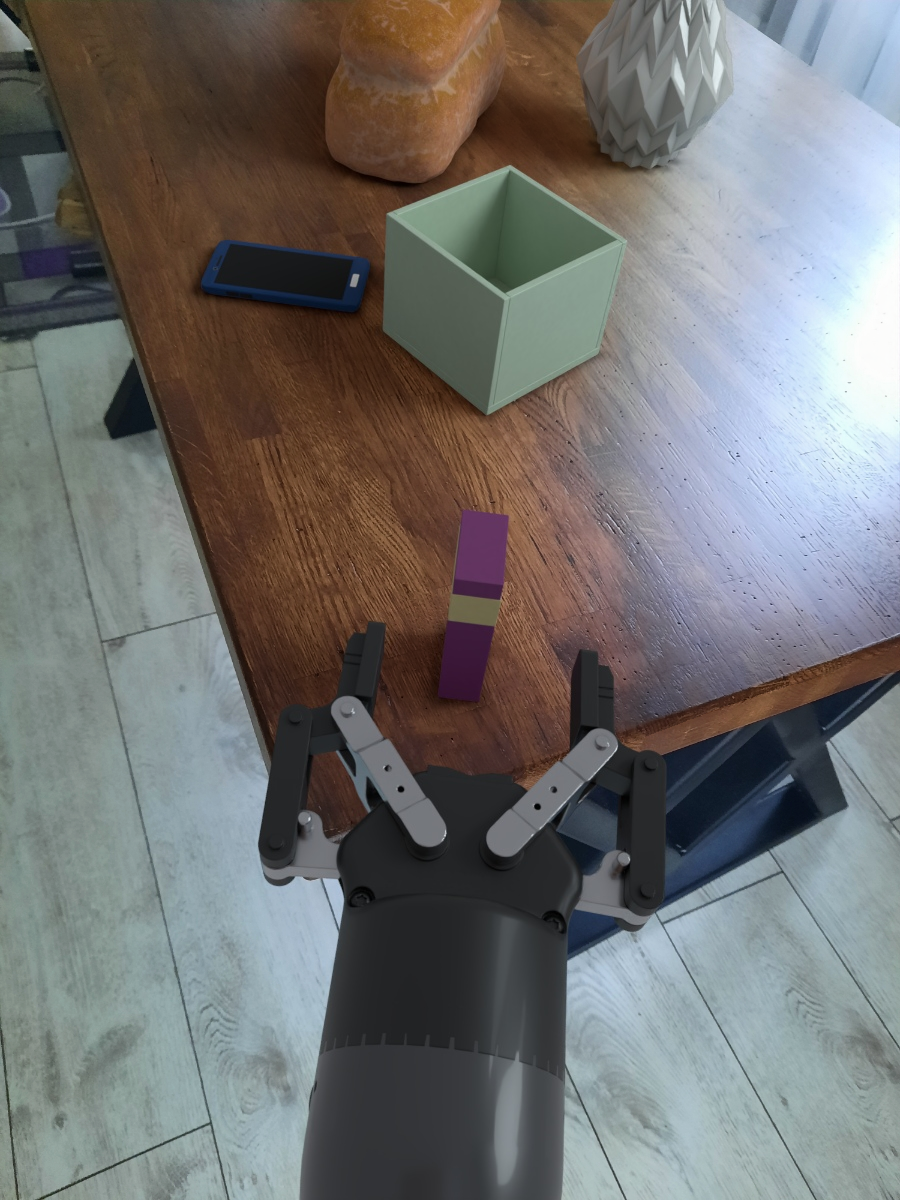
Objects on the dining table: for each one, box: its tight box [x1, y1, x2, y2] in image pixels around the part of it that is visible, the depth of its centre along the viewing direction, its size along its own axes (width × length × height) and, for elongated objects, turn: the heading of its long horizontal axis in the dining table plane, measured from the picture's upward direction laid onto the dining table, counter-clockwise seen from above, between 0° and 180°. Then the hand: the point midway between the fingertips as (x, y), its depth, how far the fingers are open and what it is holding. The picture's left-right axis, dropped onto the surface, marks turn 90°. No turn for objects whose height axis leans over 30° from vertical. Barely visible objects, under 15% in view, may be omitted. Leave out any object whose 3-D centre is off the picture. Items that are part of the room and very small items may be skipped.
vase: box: [575, 0, 735, 170], centre depth 94 cm, size 16×16×18 cm
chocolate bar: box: [437, 509, 510, 703], centre depth 55 cm, size 5×3×12 cm, turn 174°
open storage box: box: [382, 164, 628, 416], centre depth 75 cm, size 13×13×11 cm
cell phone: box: [200, 239, 371, 313], centre depth 82 cm, size 7×14×1 cm, turn 84°
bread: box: [324, 0, 507, 184], centre depth 95 cm, size 14×26×15 cm, turn 161°
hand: (480, 646), depth 38 cm, fingers open, 8 cm apart
